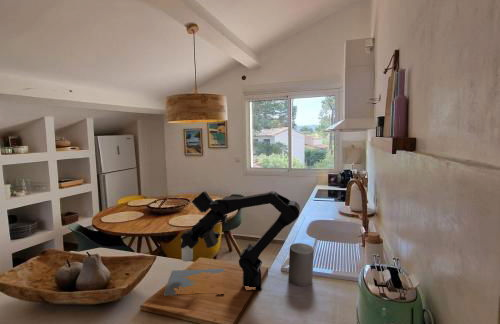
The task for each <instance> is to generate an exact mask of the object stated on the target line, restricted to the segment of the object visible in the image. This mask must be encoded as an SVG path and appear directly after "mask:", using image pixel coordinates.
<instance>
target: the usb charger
mask: <svg viewBox="0 0 500 324" xmlns="http://www.w3.org/2000/svg"><path fill="white" fill-rule="evenodd" d="M180 239H181V238H180ZM181 241H182V239H181ZM193 250H194V247H193V248H192V249H191V248H189V246H186V247H184V248H181V261H182V262H186V263H187V262H191V261H193V258H194V251H193Z"/></svg>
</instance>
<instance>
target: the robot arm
mask: <svg viewBox="0 0 500 324" xmlns="http://www.w3.org/2000/svg"><path fill="white" fill-rule="evenodd" d="M191 204H193V205H194V207H195V208H196V209H197V210H198V211H199V213H206V214H205V215H204V216H203V217H201V218H200V219H199V220H198V221H197V222H196V223H195V224H194V225H193V226H192V228H191V230H190V229H187V230H185V232H183V233H182V234H181V235H180V239H182V240H181V244H180V248H181V249H182V248H184V247H186V246H189V248H191V249H192V248H193V249H194V247H195V246H196V245H197V244H198V243H199V238H200V239H201V240H204V243H205V245H206V248H207V249H209V248H212V247H216V245H217V244H218V243H219V237H220V236H221V234H220V232H218V231H215V230H213V229H214V228H215V226H216V225H218V223H220V222H222V224H226V223H227V222H228V214H231V213H233V212H236V211H238V210H240V209H245V208H252V207H257V206H264V205H269V204H270V205H272V206H273V207H274V208H275V209H276V210H277V211H278V212H279V215H278V217H277V219H275V221H274V222H273V223H272V224H271V225H270V226H269V227H268V229H267V230H266V231H265V232H264V233H263V234H262V235H261V236H260V238H259V239H258V240H257V241H256V242H255V243H254V244H251V243H248V245H247V246H246V247H245V248H244V249H242V251H241V253H240V255H239V259H238V265H239V267H240V268H241V269H242V272H243V273H242V286H243V285H244V286H249V287H256V290H255V291H262V290H263V287H262V271H261V267H262V264H263V261H262V260H261V258H260V255H261V254H262V253H263V251H264V250H265V249H266V248H267V247H268V246H269V245H270V243H271V242H272V241H273V240H274V239H275V238H276V237H277V236H278V235H279V233H281V231H282V230H283V229H284V228H286V227H287V226H289V225H291V224H292V223H294V222H295V221H296V220H297V219H298V218H299V216H300V212H301V206H300V204H299V203H298V202H297V201H295V200H290V199H289V198H287V197H286V196H283V195H281V194H279V193H278V192H277V191H275V190H271V191H268V192H262V193H258V194H252V195H246V196H236V195H235V196H234V195H233V196H232V195H231V196H230V195H229V196H224V197H223V198H222V199H221V198H219V199H218V198H217V199H215V200H213V199H212V197H210V195H209V194H208V192H207V191H206V190H204V191H202V192H201V193H200V194H198V196H196V197H195V198H194V199H193V200H192V201H191ZM244 286H243V287H244Z"/></svg>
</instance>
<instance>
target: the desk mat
mask: <svg viewBox="0 0 500 324" xmlns="http://www.w3.org/2000/svg"><path fill="white" fill-rule="evenodd" d="M203 271H204V272H205V273H206V272H207V273H208V272H209V273H210V272H211V274H212V273H213V274H214V273H220V272H223V271H224V272H225V268H210V269H209V268H208V269H207V268H206V269H184V270H183V269H182V270H180V269H179V270H177V269H176V270H171V273H170V276H169V278H168V281H167V283H166V286H165V289H164V291H163V294H165V295H164V296H168V295H169V296H180V295H179V294H178V295H177V294H175V293H176V291H175V290H174V288H177V289H178V290H179V286H181V287H182V288H183V287H188V286H192V284H191V282H195V281H193V280H192V281H190V280H189V279H188V278H183V277H188V276H191V275H193V274H194V276H195V274H200V272H201V273H202V272H203ZM196 284H197V283H196ZM193 285H194V286H195V284H194V283H193ZM185 290H186V289H185ZM185 290H184V291H185ZM181 291H182V290H181ZM181 291H180V292H181Z"/></svg>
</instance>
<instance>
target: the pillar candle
mask: <svg viewBox="0 0 500 324" xmlns="http://www.w3.org/2000/svg"><path fill="white" fill-rule="evenodd" d="M314 250H315V249H314V246H312V245H310V244H307V243H302V242H301V243H300V242H298V243H297V242H296V243H292V244H291V245H290V246H289V254H288V255H289V258H288V259H289V262H288V264H289V266H288V281H289V282H290V283H291V284H293V285H294V286H298V287H307V286H310V285H311V284H312V283H313V276H314V274H313V272H314V252H315V251H314Z"/></svg>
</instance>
